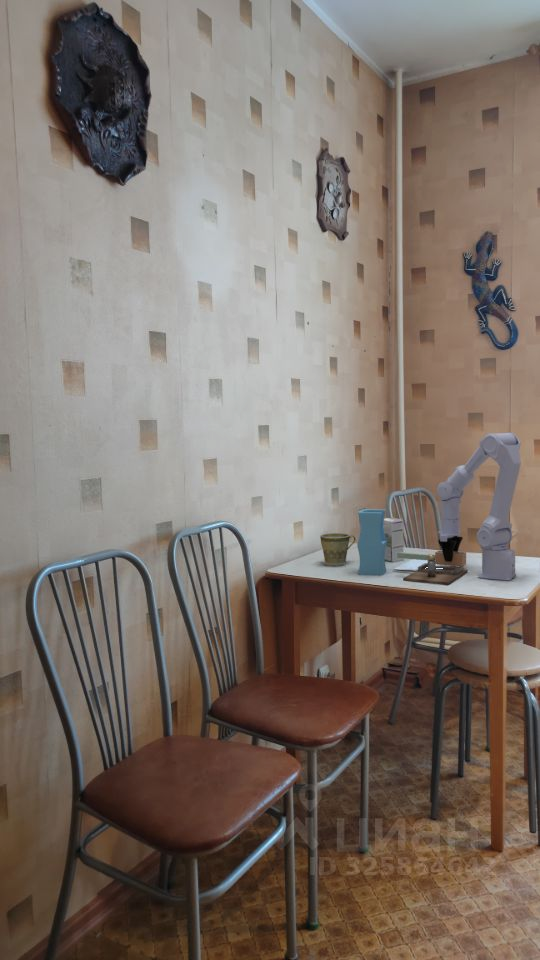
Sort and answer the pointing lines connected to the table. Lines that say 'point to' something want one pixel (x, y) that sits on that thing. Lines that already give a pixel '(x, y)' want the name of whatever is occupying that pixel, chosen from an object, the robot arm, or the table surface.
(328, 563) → the ceramic cup
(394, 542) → the syrup box
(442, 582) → the keeper board
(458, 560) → the brown rectangular block
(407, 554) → the keeper bar
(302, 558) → the table surface
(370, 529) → the vase
